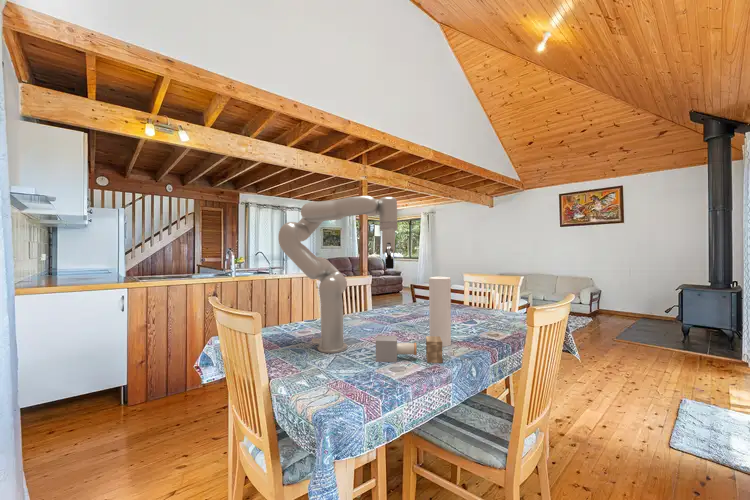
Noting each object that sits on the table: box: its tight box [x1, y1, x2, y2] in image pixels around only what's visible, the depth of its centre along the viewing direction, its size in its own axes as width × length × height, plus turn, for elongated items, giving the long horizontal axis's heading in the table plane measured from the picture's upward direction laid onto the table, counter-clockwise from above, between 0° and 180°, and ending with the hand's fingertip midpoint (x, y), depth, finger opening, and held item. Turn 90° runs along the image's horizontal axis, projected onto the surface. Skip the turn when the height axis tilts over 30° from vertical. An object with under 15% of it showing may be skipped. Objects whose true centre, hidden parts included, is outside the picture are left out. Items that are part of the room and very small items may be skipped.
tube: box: [397, 342, 418, 356], centre depth 126 cm, size 15×5×5 cm, turn 85°
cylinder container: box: [428, 275, 452, 348], centre depth 146 cm, size 9×9×30 cm
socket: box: [425, 335, 443, 364], centre depth 125 cm, size 6×7×8 cm
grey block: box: [375, 335, 398, 363], centre depth 127 cm, size 8×7×8 cm
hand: (389, 267), depth 136 cm, fingers open, 9 cm apart
